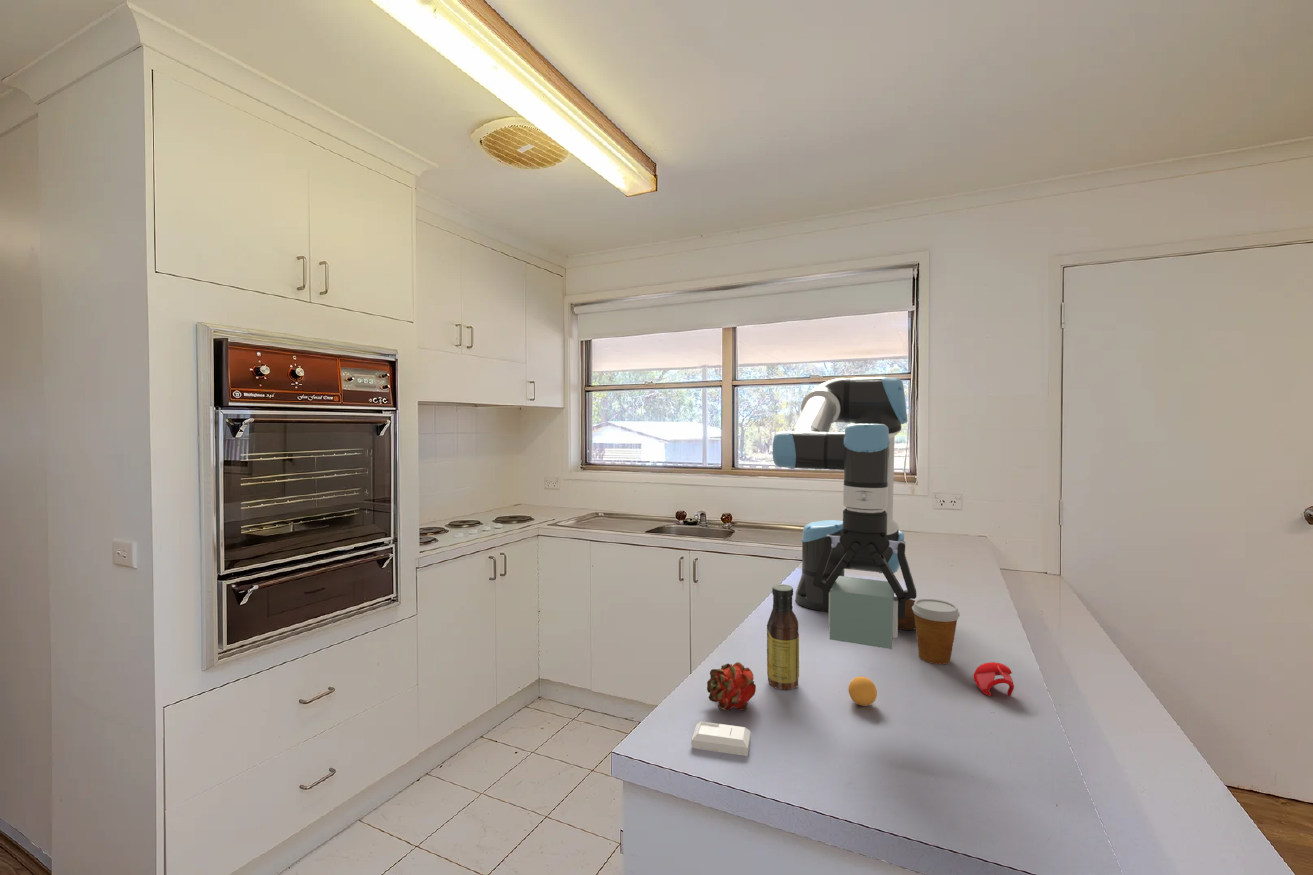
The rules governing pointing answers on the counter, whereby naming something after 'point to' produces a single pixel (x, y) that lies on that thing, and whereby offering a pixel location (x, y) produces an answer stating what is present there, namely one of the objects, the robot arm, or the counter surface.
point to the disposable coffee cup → (935, 629)
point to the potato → (907, 617)
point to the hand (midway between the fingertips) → (862, 630)
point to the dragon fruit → (731, 686)
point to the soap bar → (721, 738)
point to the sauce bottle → (782, 640)
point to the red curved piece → (992, 677)
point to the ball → (862, 691)
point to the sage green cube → (862, 612)
